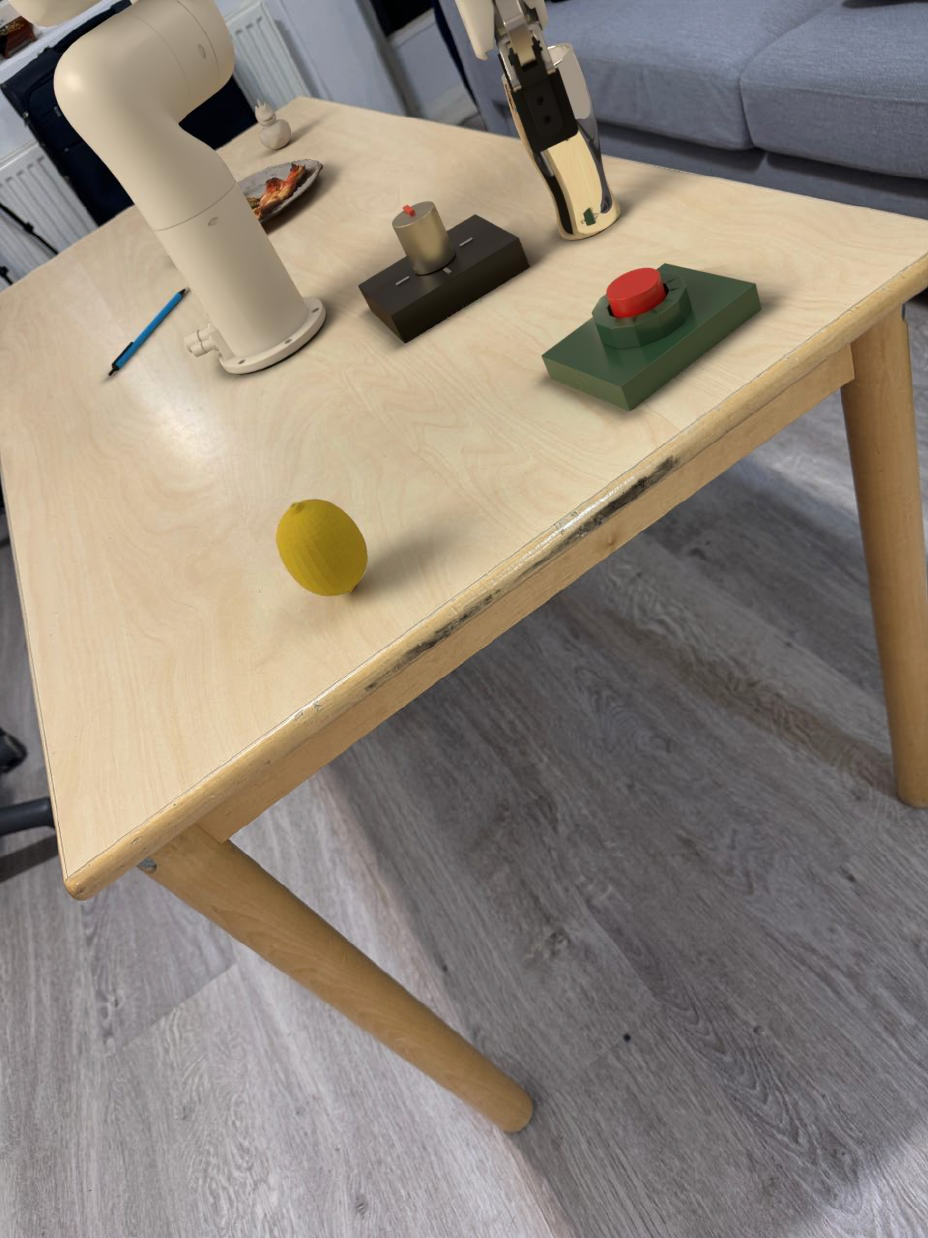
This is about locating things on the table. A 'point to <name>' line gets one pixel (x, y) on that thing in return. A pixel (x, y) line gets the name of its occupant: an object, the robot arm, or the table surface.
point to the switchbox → (651, 337)
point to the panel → (445, 279)
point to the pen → (145, 333)
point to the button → (635, 292)
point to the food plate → (278, 186)
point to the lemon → (321, 547)
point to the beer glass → (574, 158)
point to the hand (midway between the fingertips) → (547, 121)
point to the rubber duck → (272, 127)
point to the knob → (423, 237)
